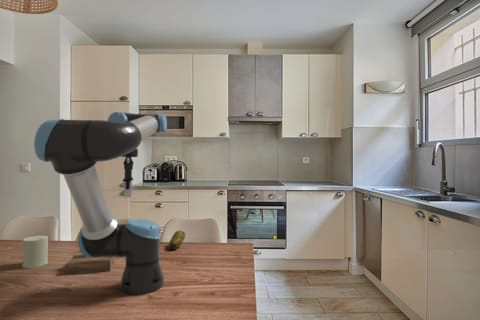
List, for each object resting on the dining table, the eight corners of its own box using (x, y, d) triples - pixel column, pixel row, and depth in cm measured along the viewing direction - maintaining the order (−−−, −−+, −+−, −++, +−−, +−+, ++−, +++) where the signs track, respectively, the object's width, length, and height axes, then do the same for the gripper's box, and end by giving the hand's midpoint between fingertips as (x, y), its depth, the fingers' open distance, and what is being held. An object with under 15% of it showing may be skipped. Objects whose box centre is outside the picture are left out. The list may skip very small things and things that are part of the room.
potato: (162, 249, 148) (162, 233, 148) (178, 243, 159) (178, 229, 160) (174, 251, 144) (174, 235, 144) (190, 245, 156) (190, 230, 156)
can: (34, 269, 119) (35, 240, 119) (16, 267, 121) (17, 239, 121) (53, 261, 128) (53, 235, 128) (36, 260, 130) (36, 233, 130)
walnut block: (110, 272, 118) (110, 260, 118) (66, 275, 114) (66, 263, 114) (116, 259, 133) (116, 248, 133) (78, 262, 129) (78, 251, 129)
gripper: (137, 146, 116) (136, 198, 116) (137, 150, 140) (137, 193, 139) (118, 145, 114) (116, 198, 113) (121, 149, 137) (120, 193, 137)
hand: (128, 195), depth 126 cm, fingers open, 13 cm apart
